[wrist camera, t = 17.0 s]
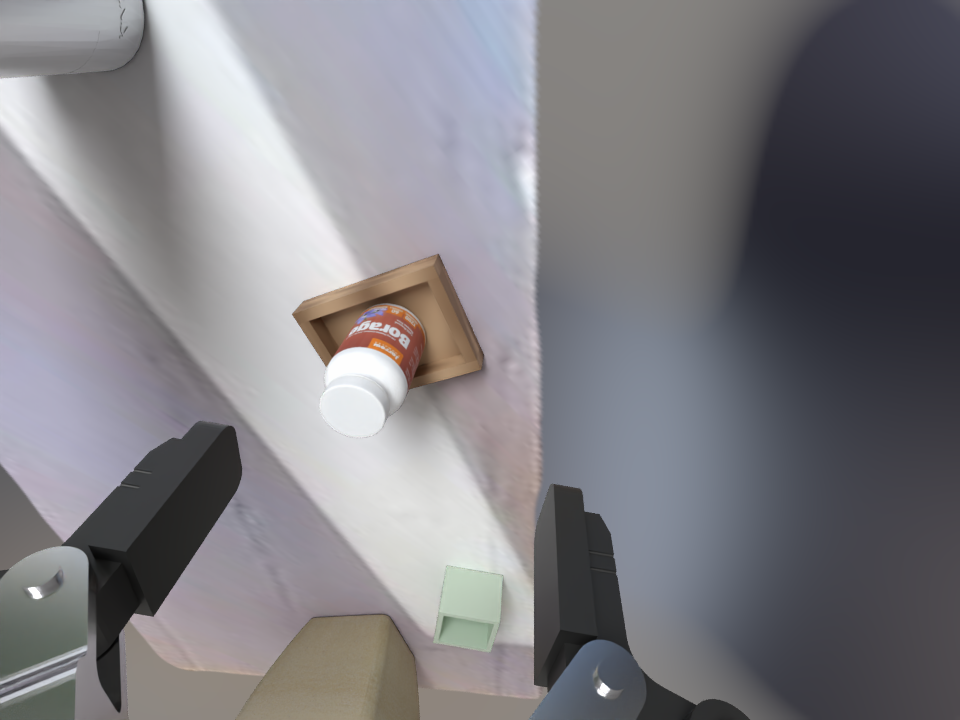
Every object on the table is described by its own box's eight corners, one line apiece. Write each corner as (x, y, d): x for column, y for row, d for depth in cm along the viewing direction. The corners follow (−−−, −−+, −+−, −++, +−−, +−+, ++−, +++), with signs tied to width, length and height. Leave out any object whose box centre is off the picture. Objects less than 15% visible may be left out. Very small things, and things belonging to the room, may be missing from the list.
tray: (359, 389, 47) (351, 404, 45) (303, 301, 42) (292, 314, 40) (483, 354, 44) (481, 369, 42) (438, 253, 39) (433, 265, 37)
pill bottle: (429, 306, 41) (398, 384, 31) (424, 366, 44) (396, 452, 35) (356, 295, 41) (304, 369, 32) (357, 356, 44) (311, 439, 35)
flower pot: (279, 604, 71) (215, 744, 57) (400, 597, 66) (364, 745, 52) (332, 669, 80) (290, 802, 66) (441, 666, 76) (420, 807, 62)
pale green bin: (440, 596, 65) (433, 642, 60) (446, 565, 61) (439, 612, 56) (493, 606, 65) (490, 652, 60) (502, 575, 61) (500, 622, 56)
